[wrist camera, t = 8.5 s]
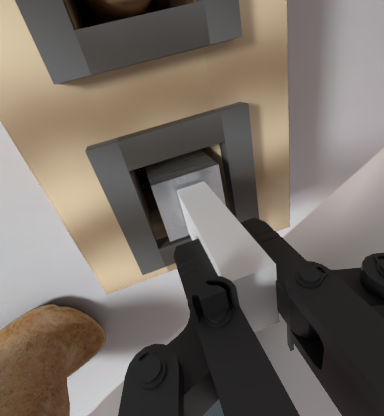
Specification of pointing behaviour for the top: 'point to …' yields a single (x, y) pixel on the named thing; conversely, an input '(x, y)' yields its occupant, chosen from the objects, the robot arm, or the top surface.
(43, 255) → the top surface
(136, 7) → the walnut dowel
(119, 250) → the oak block
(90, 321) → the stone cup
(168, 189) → the metal pin
